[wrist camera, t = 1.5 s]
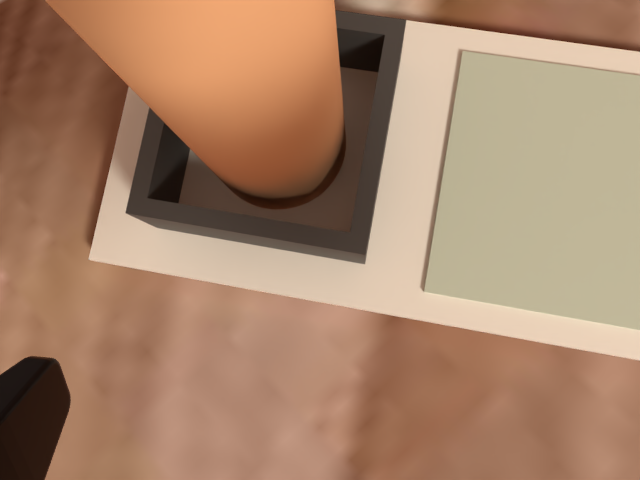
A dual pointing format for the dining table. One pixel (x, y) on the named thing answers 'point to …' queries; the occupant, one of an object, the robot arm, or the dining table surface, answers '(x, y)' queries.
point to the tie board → (424, 191)
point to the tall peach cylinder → (233, 84)
